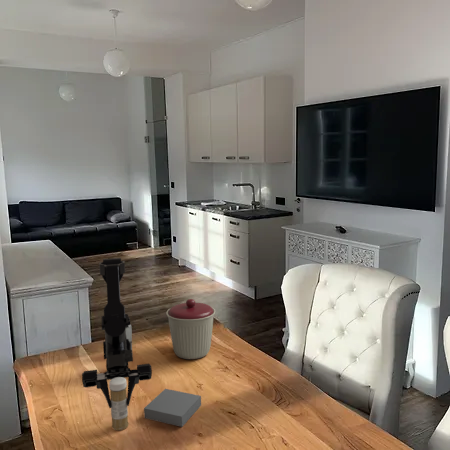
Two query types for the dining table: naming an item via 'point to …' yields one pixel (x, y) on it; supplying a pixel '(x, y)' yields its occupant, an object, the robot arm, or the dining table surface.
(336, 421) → the dining table surface
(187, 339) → the canister
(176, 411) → the podium
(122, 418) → the sprinkles bottle
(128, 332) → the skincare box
